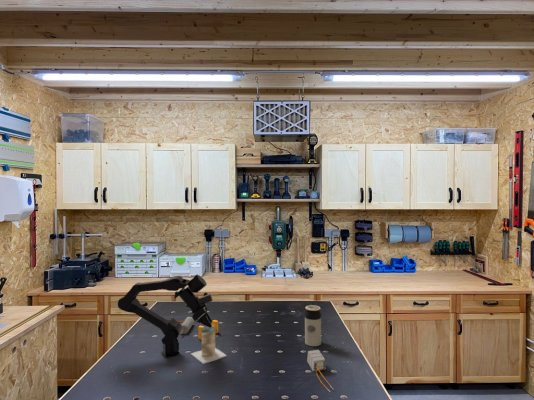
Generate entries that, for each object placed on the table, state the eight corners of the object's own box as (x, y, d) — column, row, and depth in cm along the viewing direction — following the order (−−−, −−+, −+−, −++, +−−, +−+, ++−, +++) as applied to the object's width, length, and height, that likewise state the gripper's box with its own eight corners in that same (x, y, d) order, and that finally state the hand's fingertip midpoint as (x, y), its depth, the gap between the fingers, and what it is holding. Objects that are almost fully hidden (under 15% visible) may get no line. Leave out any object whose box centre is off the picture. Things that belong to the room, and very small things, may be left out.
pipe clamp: (204, 341, 176) (204, 328, 176) (198, 339, 179) (198, 326, 179) (220, 333, 186) (220, 321, 186) (214, 331, 188) (214, 319, 188)
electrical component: (343, 398, 131) (344, 386, 130) (328, 400, 129) (329, 388, 128) (317, 358, 153) (318, 348, 152) (305, 359, 152) (305, 349, 151)
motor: (196, 322, 202) (194, 313, 202) (186, 337, 180) (184, 328, 180) (157, 328, 203) (155, 320, 203) (142, 344, 181) (141, 335, 181)
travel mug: (309, 338, 177) (309, 304, 177) (323, 342, 173) (323, 306, 173) (302, 344, 171) (301, 308, 171) (316, 348, 166) (316, 311, 166)
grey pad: (203, 364, 151) (203, 363, 151) (190, 354, 160) (190, 353, 160) (226, 356, 158) (226, 355, 158) (213, 347, 168) (213, 346, 168)
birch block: (201, 356, 157) (201, 330, 157) (204, 351, 162) (204, 326, 162) (212, 357, 157) (212, 330, 157) (215, 352, 162) (215, 326, 162)
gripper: (202, 289, 154) (225, 316, 154) (204, 285, 172) (224, 309, 172) (182, 307, 152) (205, 334, 152) (186, 300, 170) (206, 324, 170)
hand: (211, 324), depth 161 cm, fingers open, 9 cm apart
